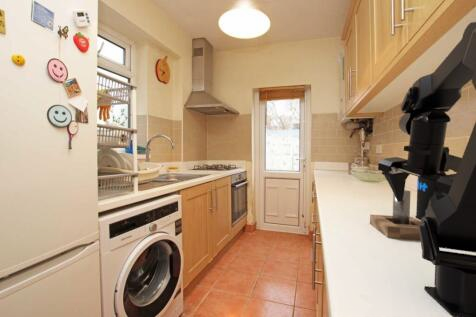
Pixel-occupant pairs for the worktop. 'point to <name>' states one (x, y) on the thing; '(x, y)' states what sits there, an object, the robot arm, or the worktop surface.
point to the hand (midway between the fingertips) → (417, 209)
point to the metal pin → (401, 209)
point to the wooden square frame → (396, 227)
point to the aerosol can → (424, 195)
